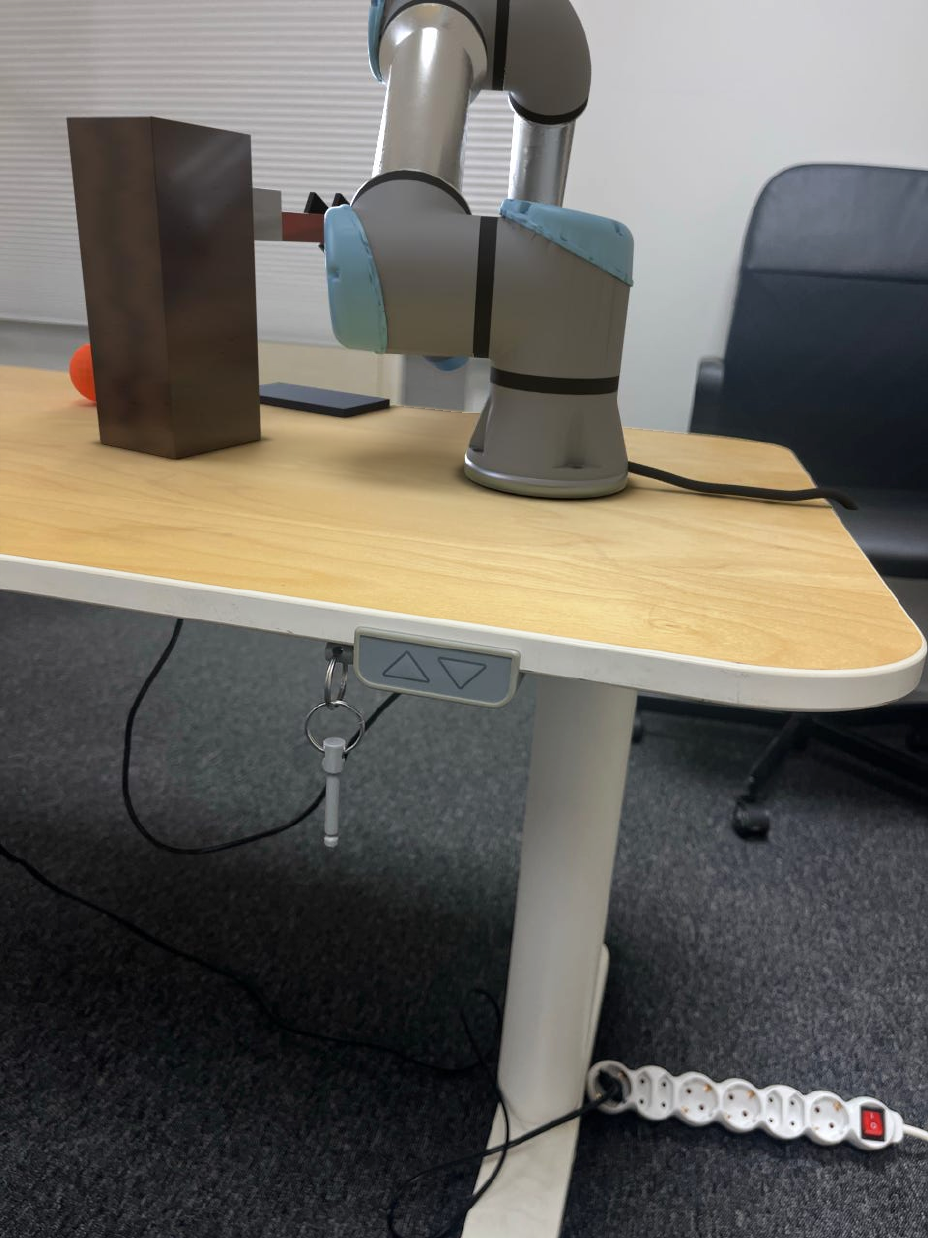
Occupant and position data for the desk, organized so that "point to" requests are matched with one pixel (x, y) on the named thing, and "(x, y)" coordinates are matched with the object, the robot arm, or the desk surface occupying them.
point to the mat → (319, 399)
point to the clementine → (83, 372)
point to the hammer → (283, 220)
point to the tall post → (168, 281)
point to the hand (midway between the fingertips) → (322, 203)
